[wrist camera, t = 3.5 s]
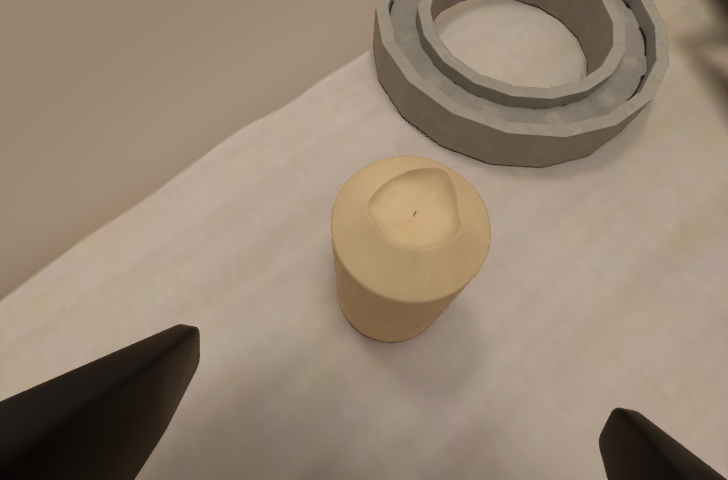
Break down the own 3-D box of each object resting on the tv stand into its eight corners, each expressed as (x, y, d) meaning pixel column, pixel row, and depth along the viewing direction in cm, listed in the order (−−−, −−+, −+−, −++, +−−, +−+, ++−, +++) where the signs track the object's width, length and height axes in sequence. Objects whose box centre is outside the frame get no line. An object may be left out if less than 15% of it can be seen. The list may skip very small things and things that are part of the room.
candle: (383, 224, 24) (404, 103, 14) (461, 286, 22) (539, 197, 13) (316, 295, 22) (290, 209, 13) (396, 366, 21) (434, 329, 11)
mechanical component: (345, 132, 26) (345, 98, 23) (403, -53, 33) (408, -96, 30) (640, 196, 25) (676, 169, 22) (634, -9, 32) (661, -49, 29)
